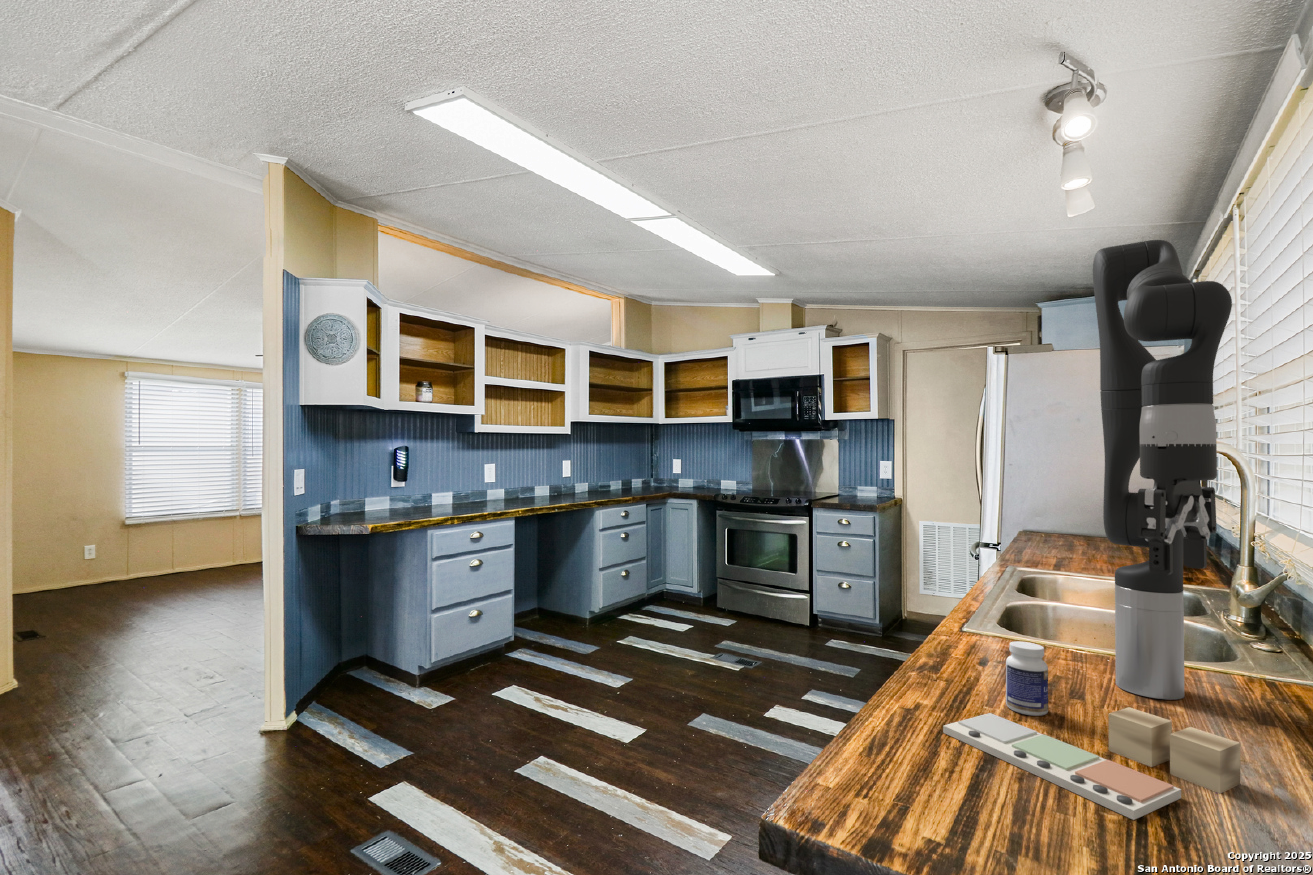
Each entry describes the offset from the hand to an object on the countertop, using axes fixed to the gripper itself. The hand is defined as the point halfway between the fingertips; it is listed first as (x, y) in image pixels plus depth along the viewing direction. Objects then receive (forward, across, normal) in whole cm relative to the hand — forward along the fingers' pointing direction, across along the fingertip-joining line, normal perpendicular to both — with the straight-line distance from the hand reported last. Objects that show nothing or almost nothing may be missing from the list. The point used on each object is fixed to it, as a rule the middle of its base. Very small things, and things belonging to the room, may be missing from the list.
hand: (1178, 570), depth 80 cm
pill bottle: (+25, -2, -21) cm, 33 cm away
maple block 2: (+25, -1, +2) cm, 25 cm away
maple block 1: (+25, -1, -5) cm, 26 cm away
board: (+25, +12, -9) cm, 29 cm away
